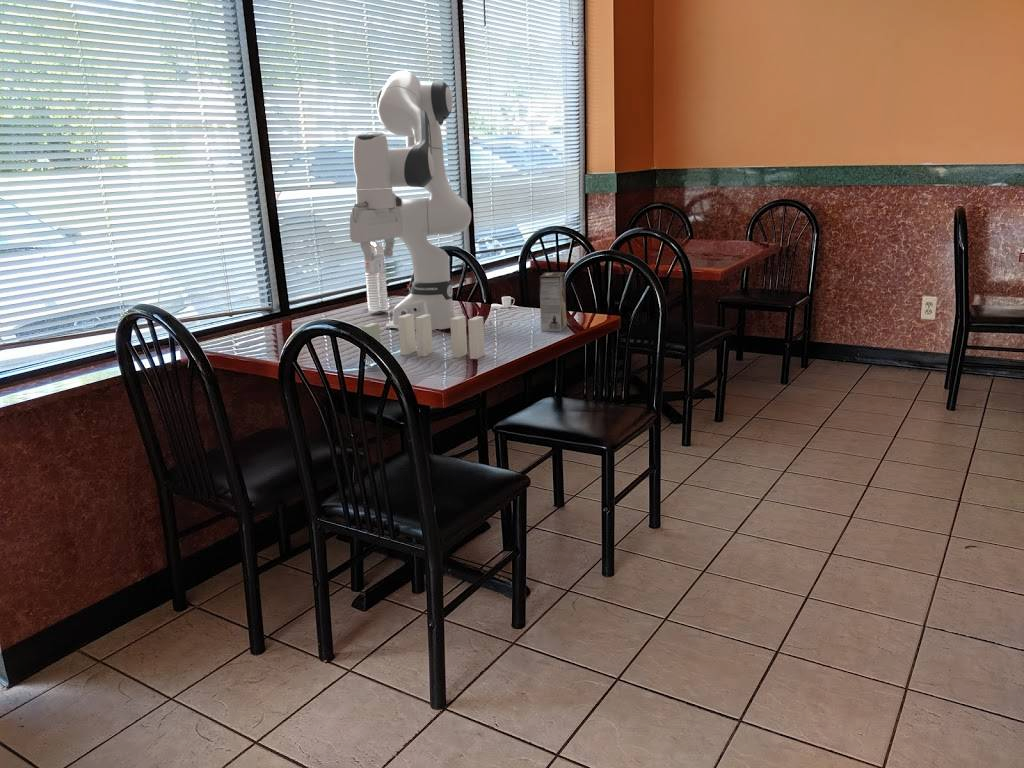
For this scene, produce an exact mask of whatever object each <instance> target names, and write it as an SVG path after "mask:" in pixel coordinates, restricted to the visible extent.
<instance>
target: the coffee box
mask: <svg viewBox="0 0 1024 768" xmlns="http://www.w3.org/2000/svg"><path fill="white" fill-rule="evenodd" d="M538 279H539V302H540V303H539V305H540V308H539V309H540V331H541V332H560V331H561V332H562V331H563V330H564V329H565V327H566V326H567V303H566V302H567V298H566V296H567V295H566V293H567V292H566V291H567V290H566V272H565V271H553V272H552V271H551V272H543V273H542V275H540V276H539V278H538Z"/></svg>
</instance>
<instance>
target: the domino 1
mask: <svg viewBox="0 0 1024 768" xmlns="http://www.w3.org/2000/svg"><path fill="white" fill-rule="evenodd" d="M380 329H381V328H380V323H379V322H371V323H368V324H365V325H362V326H361V331H362V330H363V331H364V332H366V333H368V334H369V335H371V336H372V337H374V338H375V339H376V340H378V341H379V342H380V343H381V342H382V341H381V332H380V331H381V330H380ZM381 344H382V343H381ZM366 360H367V362H368V361H369V362H370V361H371V362H373V361H372V360H371V358H370V357H369V356H368V355H366Z"/></svg>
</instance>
